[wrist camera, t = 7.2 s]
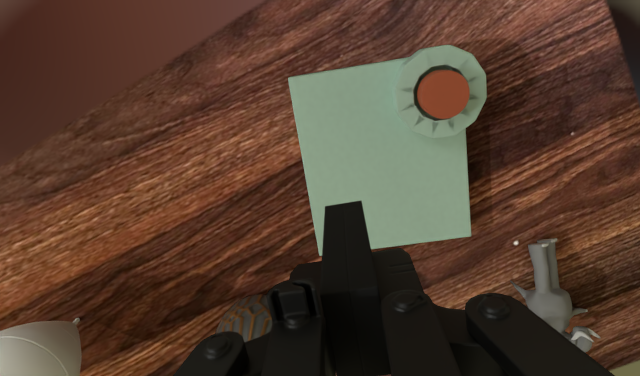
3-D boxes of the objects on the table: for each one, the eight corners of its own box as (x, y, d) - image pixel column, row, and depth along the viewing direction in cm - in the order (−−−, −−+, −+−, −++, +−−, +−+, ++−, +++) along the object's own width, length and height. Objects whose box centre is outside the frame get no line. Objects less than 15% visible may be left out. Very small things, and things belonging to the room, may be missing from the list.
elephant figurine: (606, 231, 33) (623, 343, 33) (531, 232, 38) (546, 331, 38) (552, 249, 27) (573, 388, 27) (471, 249, 32) (487, 367, 31)
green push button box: (289, 70, 30) (283, 72, 27) (467, 40, 29) (485, 38, 26) (320, 246, 34) (318, 267, 31) (476, 226, 33) (492, 245, 30)
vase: (316, 330, 37) (311, 409, 29) (251, 358, 38) (228, 442, 30) (278, 269, 35) (261, 335, 27) (211, 301, 36) (175, 373, 28)
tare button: (415, 73, 27) (419, 74, 25) (461, 66, 27) (468, 66, 25) (418, 118, 28) (423, 122, 26) (463, 111, 28) (471, 115, 26)
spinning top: (64, 362, 39) (-48, 488, 28) (20, 295, 37) (-120, 403, 25) (134, 341, 38) (49, 463, 27) (94, 271, 36) (-18, 371, 24)
